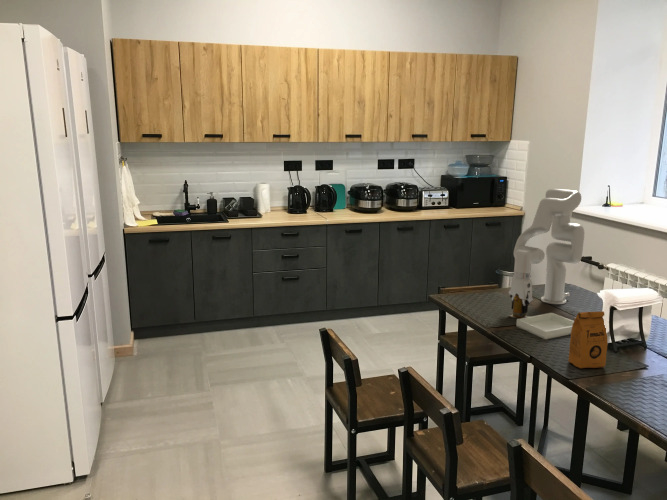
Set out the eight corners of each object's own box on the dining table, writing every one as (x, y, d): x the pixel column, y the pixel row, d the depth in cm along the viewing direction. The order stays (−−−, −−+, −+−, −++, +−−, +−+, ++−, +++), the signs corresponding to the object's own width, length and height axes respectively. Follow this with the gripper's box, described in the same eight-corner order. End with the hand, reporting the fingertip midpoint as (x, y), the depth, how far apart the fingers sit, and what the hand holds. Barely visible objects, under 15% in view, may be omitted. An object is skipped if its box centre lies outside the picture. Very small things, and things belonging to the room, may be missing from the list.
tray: (551, 319, 273) (552, 312, 272) (582, 331, 257) (582, 324, 257) (516, 326, 264) (516, 319, 263) (545, 339, 248) (546, 331, 247)
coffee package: (608, 370, 217) (615, 315, 213) (577, 371, 216) (583, 316, 212) (595, 359, 227) (600, 307, 222) (565, 360, 226) (570, 307, 221)
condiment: (517, 313, 282) (518, 290, 279) (532, 317, 276) (534, 294, 273) (508, 316, 278) (510, 292, 275) (523, 321, 271) (525, 296, 269)
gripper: (541, 278, 267) (538, 315, 271) (515, 270, 282) (512, 304, 286) (529, 280, 264) (526, 317, 268) (503, 271, 279) (501, 306, 283)
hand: (519, 310), depth 277 cm, fingers closed on condiment, 6 cm apart
